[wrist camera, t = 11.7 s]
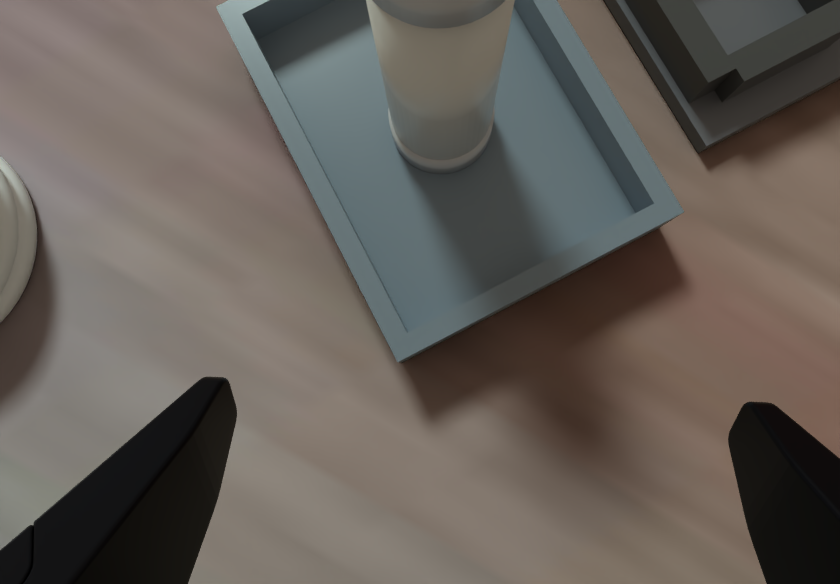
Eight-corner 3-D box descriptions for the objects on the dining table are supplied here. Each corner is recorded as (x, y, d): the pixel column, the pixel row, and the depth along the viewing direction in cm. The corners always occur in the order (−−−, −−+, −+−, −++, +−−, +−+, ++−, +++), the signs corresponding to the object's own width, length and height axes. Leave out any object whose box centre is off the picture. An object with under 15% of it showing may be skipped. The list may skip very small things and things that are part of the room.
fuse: (509, 145, 24) (573, -65, 12) (419, 191, 24) (397, 24, 12) (462, 61, 25) (479, -218, 13) (374, 106, 25) (310, -134, 13)
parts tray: (659, 227, 24) (684, 211, 22) (402, 362, 24) (397, 362, 21) (476, -81, 26) (479, -128, 24) (237, 40, 26) (216, 6, 24)
